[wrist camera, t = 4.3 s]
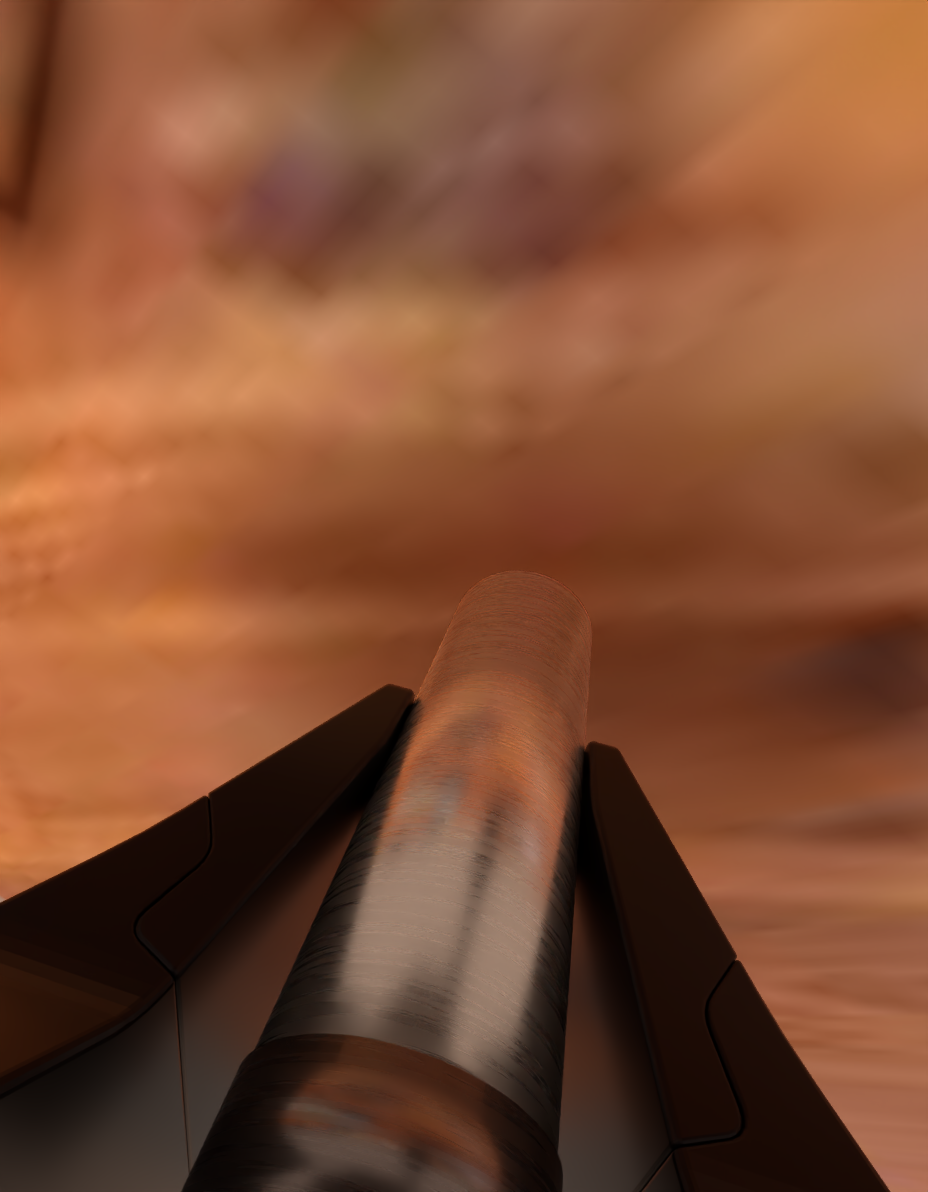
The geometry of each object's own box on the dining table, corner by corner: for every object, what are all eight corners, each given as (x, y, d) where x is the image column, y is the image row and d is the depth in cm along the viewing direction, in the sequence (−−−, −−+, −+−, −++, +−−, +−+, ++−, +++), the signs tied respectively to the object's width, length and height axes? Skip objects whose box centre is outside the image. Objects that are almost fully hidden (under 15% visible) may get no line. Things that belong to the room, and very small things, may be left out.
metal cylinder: (613, 590, 11) (604, 1329, 3) (573, 707, 13) (501, 1435, 5) (465, 551, 12) (147, 1159, 4) (441, 671, 13) (169, 1306, 5)
